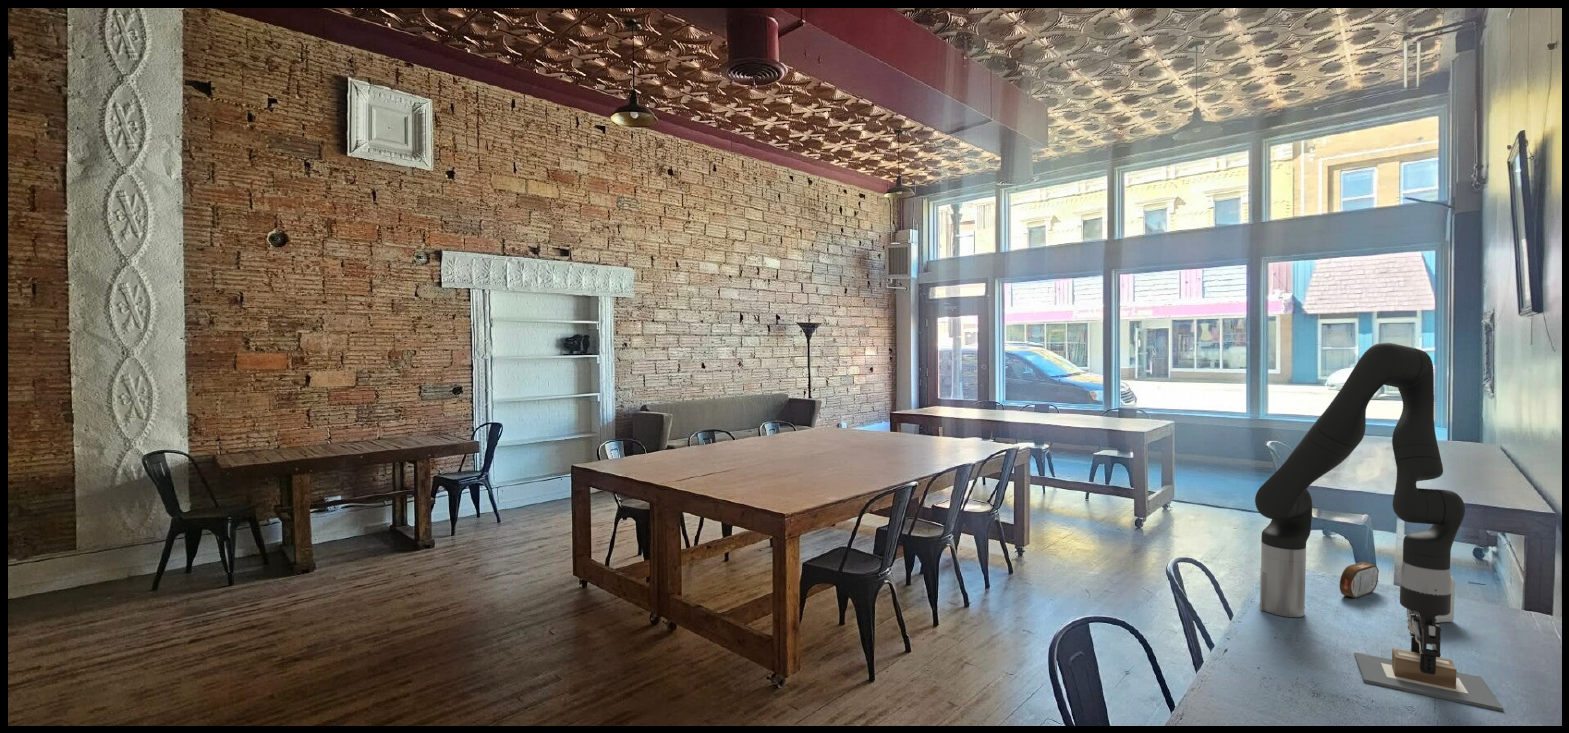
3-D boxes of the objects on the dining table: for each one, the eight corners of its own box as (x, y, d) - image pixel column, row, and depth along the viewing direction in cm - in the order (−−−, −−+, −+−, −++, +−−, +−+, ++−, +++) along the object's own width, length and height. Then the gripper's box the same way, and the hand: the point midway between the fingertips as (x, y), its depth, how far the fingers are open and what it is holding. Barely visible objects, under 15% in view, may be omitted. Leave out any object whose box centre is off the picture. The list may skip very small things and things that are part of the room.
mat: (1363, 682, 138) (1364, 678, 138) (1354, 655, 150) (1354, 651, 150) (1503, 711, 127) (1503, 708, 127) (1481, 679, 138) (1481, 676, 138)
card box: (1455, 689, 133) (1456, 669, 133) (1394, 676, 139) (1395, 656, 139) (1451, 679, 137) (1451, 659, 137) (1391, 666, 143) (1392, 647, 143)
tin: (1366, 588, 188) (1367, 558, 188) (1380, 592, 185) (1381, 561, 185) (1337, 598, 182) (1338, 567, 181) (1351, 602, 179) (1352, 570, 178)
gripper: (1460, 602, 129) (1457, 684, 130) (1441, 579, 141) (1439, 655, 142) (1407, 594, 134) (1405, 674, 134) (1394, 572, 145) (1391, 646, 146)
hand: (1422, 664), depth 138 cm, fingers open, 8 cm apart
